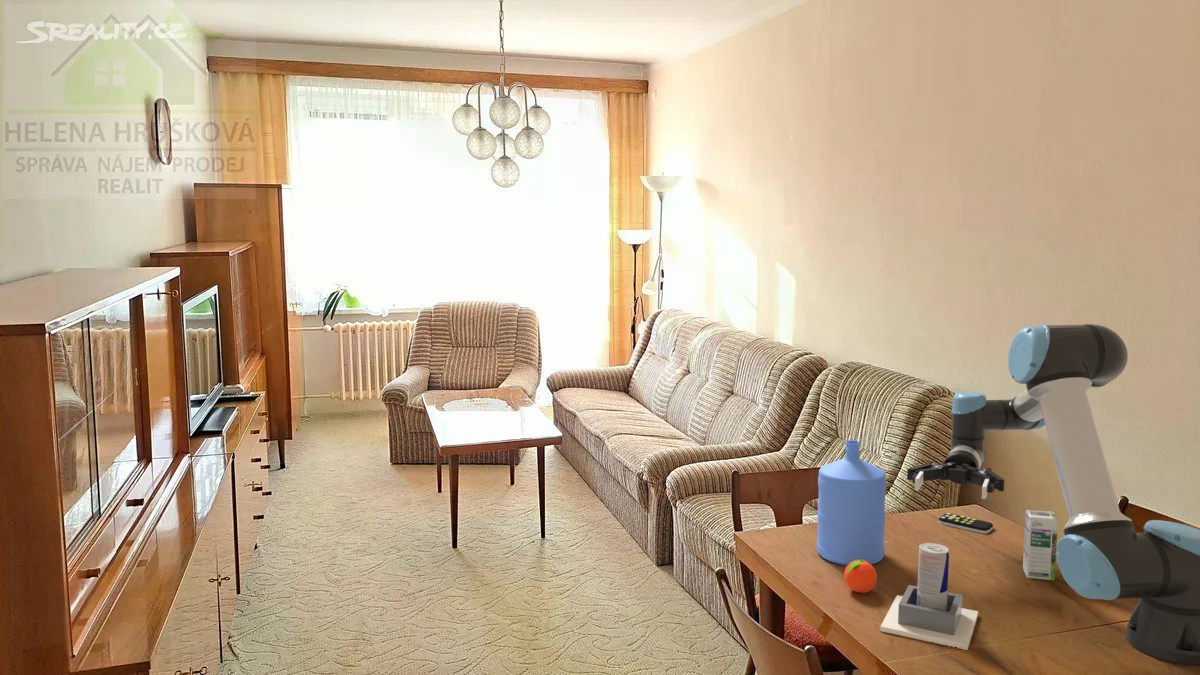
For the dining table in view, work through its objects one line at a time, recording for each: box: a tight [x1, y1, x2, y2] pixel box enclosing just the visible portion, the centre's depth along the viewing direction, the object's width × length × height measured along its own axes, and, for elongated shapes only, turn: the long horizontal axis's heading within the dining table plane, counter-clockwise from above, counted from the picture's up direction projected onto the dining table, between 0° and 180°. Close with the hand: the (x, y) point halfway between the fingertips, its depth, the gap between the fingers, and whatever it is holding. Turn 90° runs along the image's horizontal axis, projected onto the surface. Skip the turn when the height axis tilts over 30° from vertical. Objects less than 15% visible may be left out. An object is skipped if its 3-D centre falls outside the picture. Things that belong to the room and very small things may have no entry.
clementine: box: [843, 560, 878, 594], centre depth 187 cm, size 8×7×7 cm
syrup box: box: [1022, 509, 1059, 582], centre depth 194 cm, size 6×6×14 cm
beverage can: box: [917, 542, 950, 612], centre depth 172 cm, size 6×6×15 cm
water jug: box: [816, 440, 887, 566], centre depth 207 cm, size 16×16×28 cm
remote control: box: [938, 512, 994, 534], centre depth 227 cm, size 6×13×2 cm, turn 47°
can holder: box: [879, 584, 979, 651], centre depth 173 cm, size 16×16×5 cm
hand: (949, 488), depth 186 cm, fingers open, 13 cm apart
